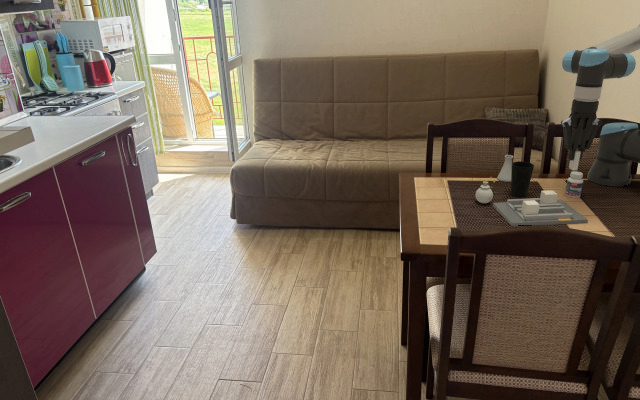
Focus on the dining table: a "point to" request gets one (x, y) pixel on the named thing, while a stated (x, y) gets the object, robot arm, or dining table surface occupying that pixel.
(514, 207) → the switch board
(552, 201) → the tab
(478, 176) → the dining table surface
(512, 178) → the cup
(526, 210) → the tab
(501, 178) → the flask
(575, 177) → the pill bottle
